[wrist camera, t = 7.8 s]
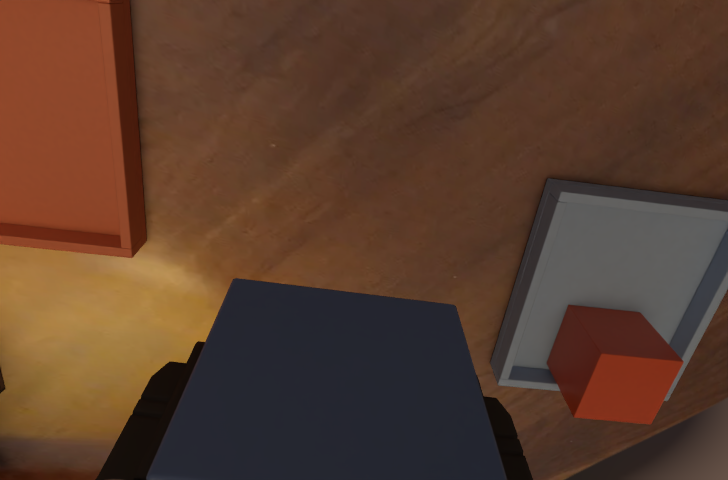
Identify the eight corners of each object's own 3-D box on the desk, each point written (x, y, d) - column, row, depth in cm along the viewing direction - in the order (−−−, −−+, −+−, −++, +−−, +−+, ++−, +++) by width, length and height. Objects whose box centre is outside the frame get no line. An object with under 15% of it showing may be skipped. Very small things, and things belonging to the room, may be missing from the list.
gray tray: (546, 177, 30) (561, 191, 28) (739, 201, 30) (767, 216, 28) (489, 363, 36) (497, 385, 34) (650, 378, 37) (667, 401, 35)
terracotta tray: (-129, -47, 24) (-174, -51, 22) (129, -11, 25) (108, -11, 23) (-57, 218, 30) (-87, 235, 28) (147, 240, 31) (132, 258, 29)
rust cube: (568, 304, 33) (601, 353, 28) (640, 311, 33) (684, 361, 29) (546, 363, 35) (573, 417, 30) (614, 369, 35) (651, 424, 31)
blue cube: (232, 276, 11) (143, 477, 6) (456, 303, 11) (519, 512, 7) (227, 437, 13) (158, 669, 9) (413, 455, 13) (439, 688, 9)
